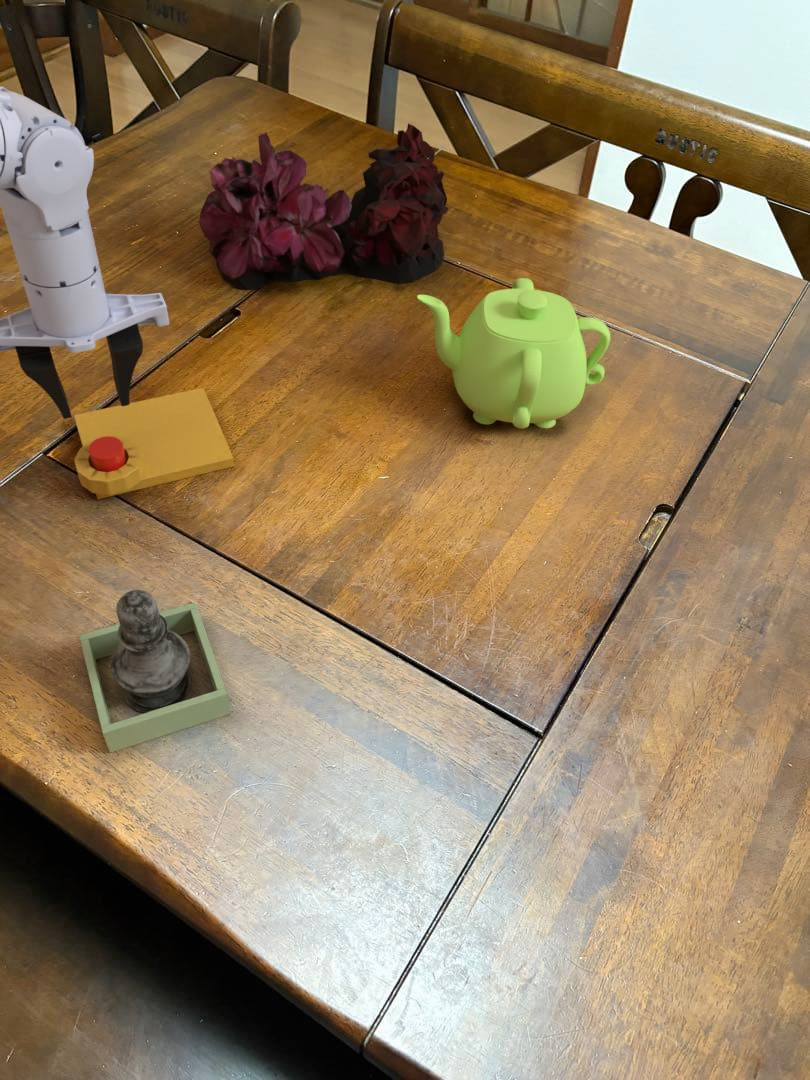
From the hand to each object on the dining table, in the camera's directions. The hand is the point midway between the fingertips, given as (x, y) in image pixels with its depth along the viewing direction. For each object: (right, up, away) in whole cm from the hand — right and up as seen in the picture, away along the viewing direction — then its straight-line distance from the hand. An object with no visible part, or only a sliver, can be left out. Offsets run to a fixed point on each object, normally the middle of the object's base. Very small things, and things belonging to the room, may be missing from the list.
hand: (94, 404), depth 79 cm
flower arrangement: (+18, +23, +34) cm, 45 cm away
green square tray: (+7, -23, -7) cm, 25 cm away
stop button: (0, -4, +5) cm, 7 cm away
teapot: (+37, +3, +19) cm, 42 cm away
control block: (+2, -2, +11) cm, 11 cm away
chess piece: (+7, -23, -7) cm, 25 cm away
